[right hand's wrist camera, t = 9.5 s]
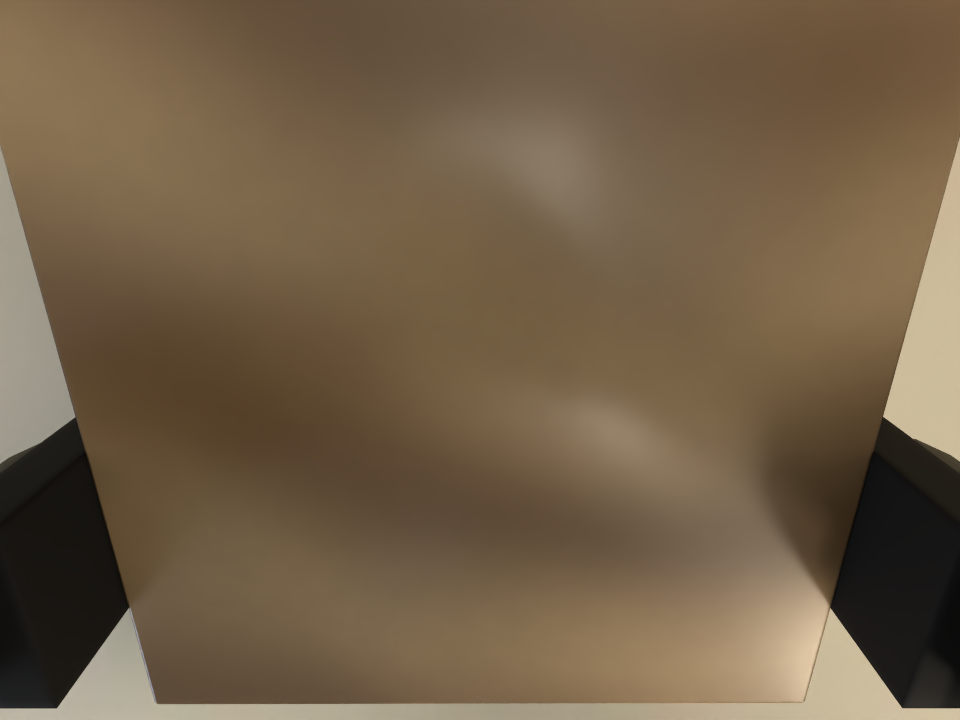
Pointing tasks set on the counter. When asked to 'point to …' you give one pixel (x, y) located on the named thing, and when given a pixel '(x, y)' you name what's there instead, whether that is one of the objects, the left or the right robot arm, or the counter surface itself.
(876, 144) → the cabinet
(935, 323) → the counter surface
